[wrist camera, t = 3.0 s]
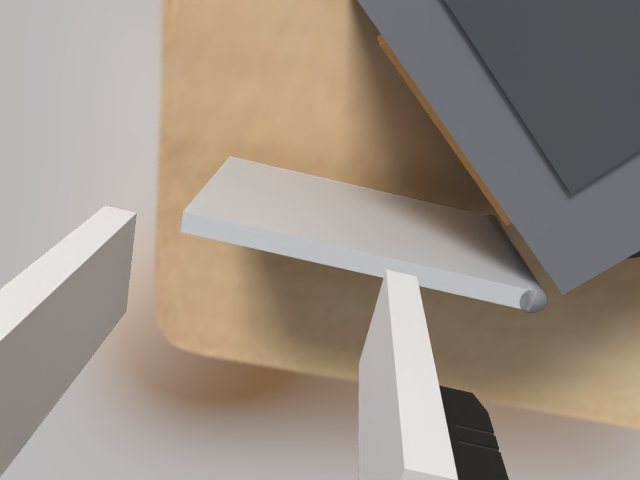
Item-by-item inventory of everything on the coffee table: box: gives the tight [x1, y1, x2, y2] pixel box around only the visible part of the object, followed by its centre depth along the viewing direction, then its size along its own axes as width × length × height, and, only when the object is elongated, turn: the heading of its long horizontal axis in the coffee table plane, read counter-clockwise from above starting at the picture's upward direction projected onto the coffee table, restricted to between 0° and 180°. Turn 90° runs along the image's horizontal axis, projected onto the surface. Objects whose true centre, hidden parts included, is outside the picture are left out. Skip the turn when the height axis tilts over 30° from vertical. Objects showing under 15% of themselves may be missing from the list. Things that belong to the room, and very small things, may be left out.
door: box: [181, 156, 547, 313], centre depth 31 cm, size 17×2×10 cm, turn 78°
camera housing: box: [357, 0, 640, 295], centre depth 28 cm, size 18×12×13 cm
